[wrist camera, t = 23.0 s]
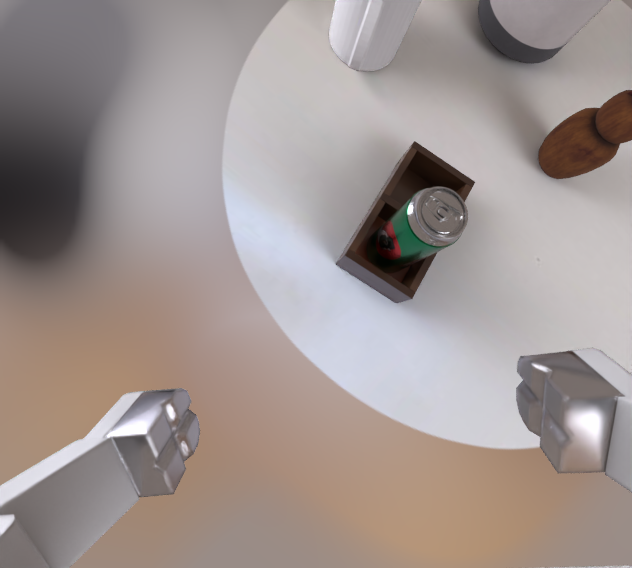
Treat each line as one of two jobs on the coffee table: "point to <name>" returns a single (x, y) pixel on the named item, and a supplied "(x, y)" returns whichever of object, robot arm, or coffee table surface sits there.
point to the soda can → (418, 229)
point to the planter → (535, 25)
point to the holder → (401, 185)
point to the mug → (370, 31)
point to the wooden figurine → (587, 138)
